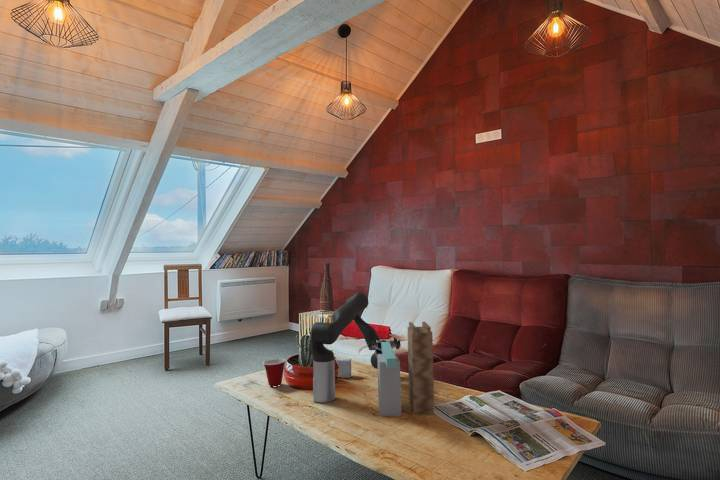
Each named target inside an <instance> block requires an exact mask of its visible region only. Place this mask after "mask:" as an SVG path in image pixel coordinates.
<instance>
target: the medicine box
mask: <svg viewBox="0 0 720 480" xmlns="http://www.w3.org/2000/svg"><path fill="white" fill-rule="evenodd" d="M336 359H337V362H338V366H339V377H341V378H342V379H343V378H345V379H346V378H351V377H352V358H336Z"/></svg>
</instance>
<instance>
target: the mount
mask: <svg viewBox="0 0 720 480" xmlns="http://www.w3.org/2000/svg"><path fill="white" fill-rule="evenodd" d="M421 325H422V326H416V325H415V324H414V323H413V322H412V321H410V322H408V326H407V358H408V359H407V361H408V364H407V365H408V399H409V401H408V402H409V405H410V408H411V410H412V413H413V416H424V415H427V416H428V415H435V397H434V396H435V393H434V387H435V385H434V346H433V345H434V343H433V331H432V330H431V329H432V327H431V326H430V325H429V324H428V323H427V322H426V321H422V322H421Z"/></svg>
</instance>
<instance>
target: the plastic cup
mask: <svg viewBox="0 0 720 480" xmlns="http://www.w3.org/2000/svg"><path fill="white" fill-rule="evenodd" d="M286 361H287V360H286V359H284V358H273V359H268V360H264V361H263V362H262V364H263V366H264V368H265V372H266V378H267V383H268V386H269V385H270V386H278V385H280V384H281V383H282V381H283V378H284V377H283V376H284V368H285V362H286ZM282 384H283V383H282ZM282 384H281V385H282Z"/></svg>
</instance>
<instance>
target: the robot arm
mask: <svg viewBox="0 0 720 480" xmlns="http://www.w3.org/2000/svg"><path fill="white" fill-rule="evenodd" d="M368 306H369V298H368V296H367V295H366V294H365V293H364V292H357V293H355V294H353V295H352V296H350V297H349V298H347V299H346V300H345V303H344V304H342V305H341V306H339V307H338V308H337V309H335V311H333V312H332V316H331V321H332V322H320V321H319V322H317V321H316V322H314V323H313V324H312V325H311V329H310V344H311V353H312V354H311V355H312V367H313V368H312V369H313V370H312V371H313V374H312V375H313V379H312V390H313V391H312V396H313V397H312V400H313V401H314V402H315V403H323V404H324V403H326V404H327V403H330V402H331V403H332V402H333V401H334V400H335V399H336V384H335V383H336V381H335V380H336V378H335V353H334V351H332V350H331V349H328V347H325V345H332V344H335V342H336V341H337V339H339V337H340V335H341V334H342V333H343V331H344V330H345V329H346V328H347V327H348V326H349V325H350V324H351V323H352V322H353V321H354V323H355V325H356V326H357V327H358V329H359V330H360V332H361V334H362V336H363V338H364V341H365V343H366V346H367V348H368V350H369V351H374V353H372V355H371V356H370V364H371V366H372V367H373V368H374V369H376V370H378V361H377V354H382V351H381V342H390V345H391V347H392V349H396V350H399V349H400V348H401V346H402V345H401V340H400V339H397V338H396V337H394V338H393V340H385V339H380V337H379V335H378V332H377V331H376V329H375V328H374V327H373V326H371V325H370V324H369V323H368V322H367V321H365V320H364V319H363V318H362V317H361V315H360V313H361V312H362V311H363V310H366V309H367V308H368Z"/></svg>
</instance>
